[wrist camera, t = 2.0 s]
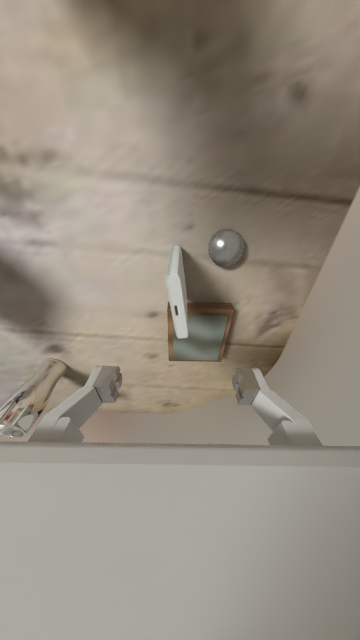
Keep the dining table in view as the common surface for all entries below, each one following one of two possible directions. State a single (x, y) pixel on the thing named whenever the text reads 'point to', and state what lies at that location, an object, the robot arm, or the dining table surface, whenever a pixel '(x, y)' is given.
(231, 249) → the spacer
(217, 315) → the mirror
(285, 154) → the dining table surface
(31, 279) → the dining table surface
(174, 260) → the external hard drive
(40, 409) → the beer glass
